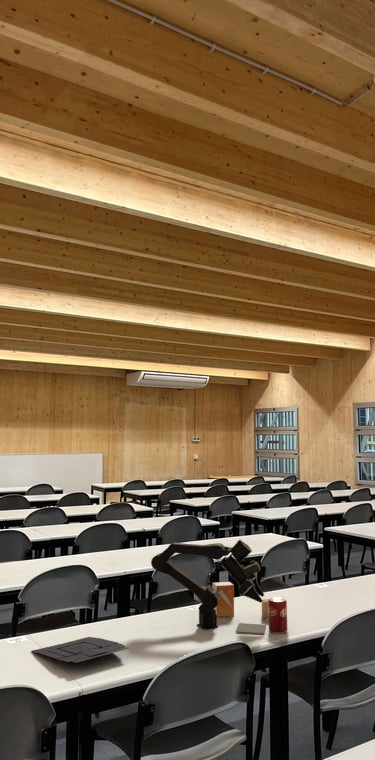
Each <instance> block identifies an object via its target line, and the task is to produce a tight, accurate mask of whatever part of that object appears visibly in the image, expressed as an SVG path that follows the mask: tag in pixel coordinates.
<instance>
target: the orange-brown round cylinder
mask: <svg viewBox="0 0 375 760" xmlns="http://www.w3.org/2000/svg"><path fill="white" fill-rule="evenodd" d="M269 599H270V598H266V599H265V598H264V599H262V602H261V619H262V620H266V621H269V613H268V600H269Z"/></svg>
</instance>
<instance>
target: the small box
mask: <svg viewBox="0 0 375 760" xmlns="http://www.w3.org/2000/svg"><path fill="white" fill-rule="evenodd" d="M212 588H214V589H216V590H217V592H218V593H219V595H220V601H219V603H218V605H217V606H216V607H215V608H214V610H216V614H217V618H219V617H234V616H235V584H233V583H232V582H230V581H221V582H220V581H219V582H212Z"/></svg>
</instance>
